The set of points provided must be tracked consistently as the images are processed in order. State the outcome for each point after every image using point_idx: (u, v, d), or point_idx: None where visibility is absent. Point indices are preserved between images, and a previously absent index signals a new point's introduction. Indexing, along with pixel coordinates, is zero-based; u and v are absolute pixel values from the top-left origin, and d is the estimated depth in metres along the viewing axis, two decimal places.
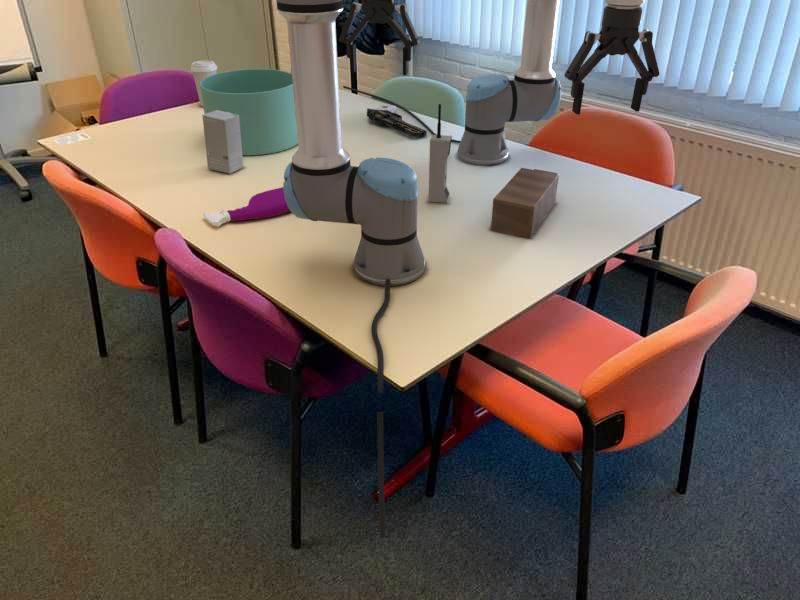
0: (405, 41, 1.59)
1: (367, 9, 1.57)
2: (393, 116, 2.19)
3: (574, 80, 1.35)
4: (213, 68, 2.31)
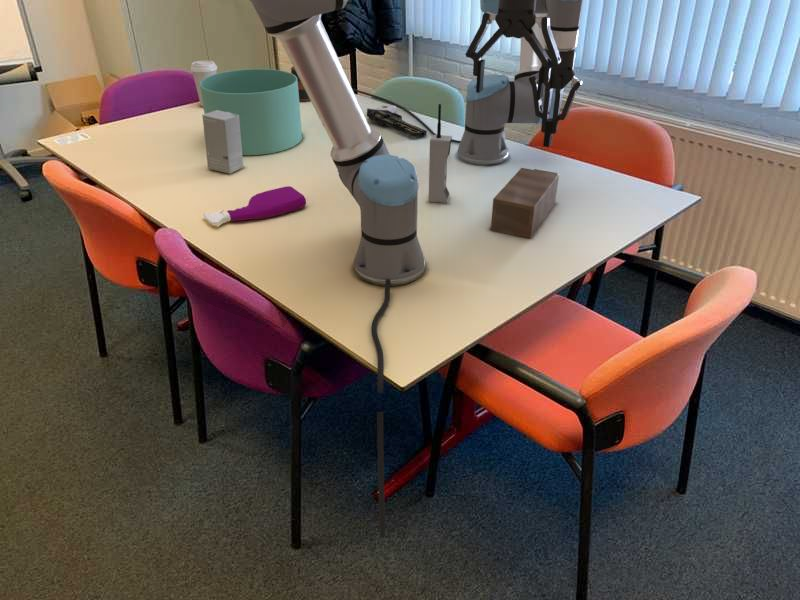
0: (543, 60, 1.34)
1: (502, 20, 1.33)
2: (393, 116, 2.19)
3: None
4: (213, 68, 2.31)
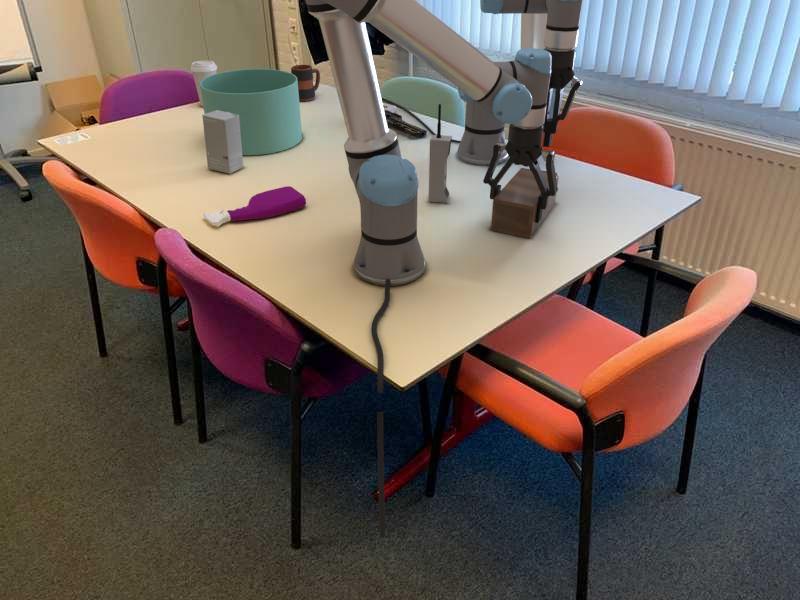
0: (542, 190, 1.46)
1: (511, 150, 1.45)
2: (393, 116, 2.19)
3: None
4: (213, 68, 2.31)
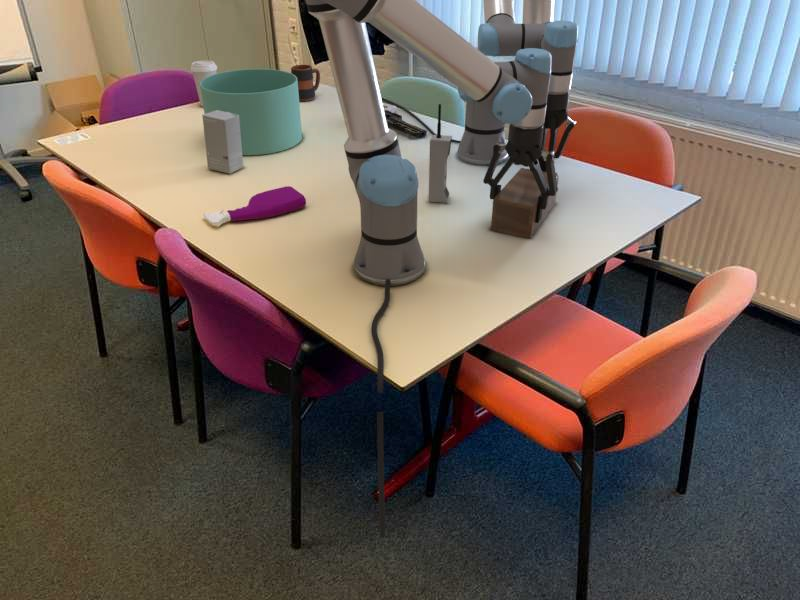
0: (542, 190, 1.46)
1: (511, 150, 1.45)
2: (393, 116, 2.19)
3: None
4: (213, 68, 2.31)
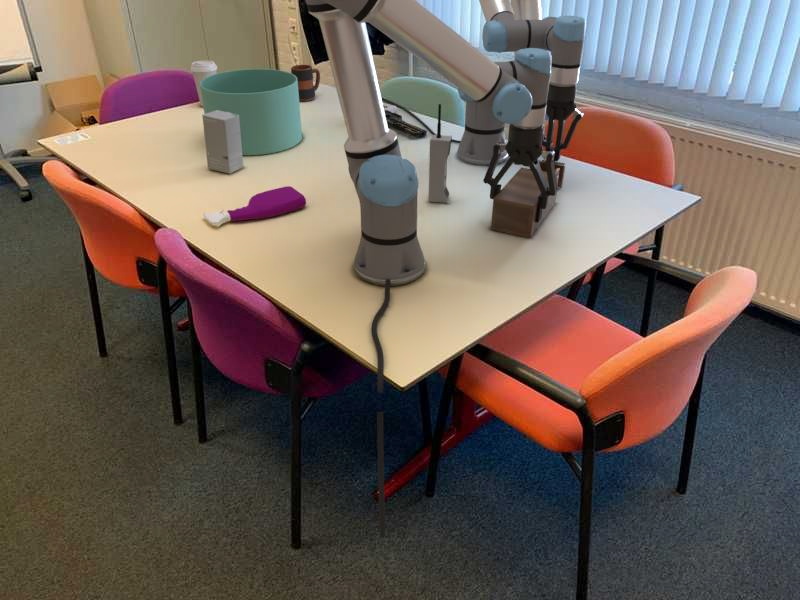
0: (542, 190, 1.46)
1: (511, 150, 1.45)
2: (393, 116, 2.19)
3: None
4: (213, 68, 2.31)
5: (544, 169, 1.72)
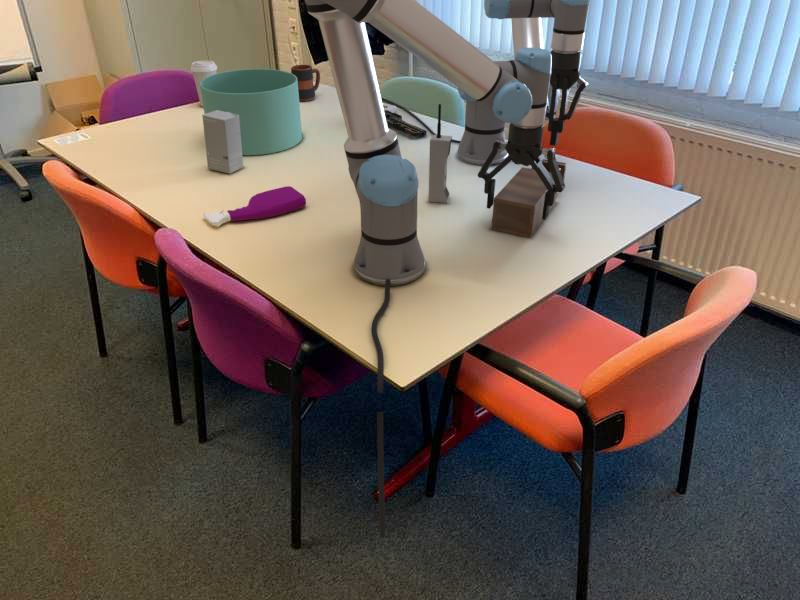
0: (549, 186, 1.45)
1: (511, 150, 1.45)
2: (393, 116, 2.19)
3: None
4: (213, 68, 2.31)
5: None
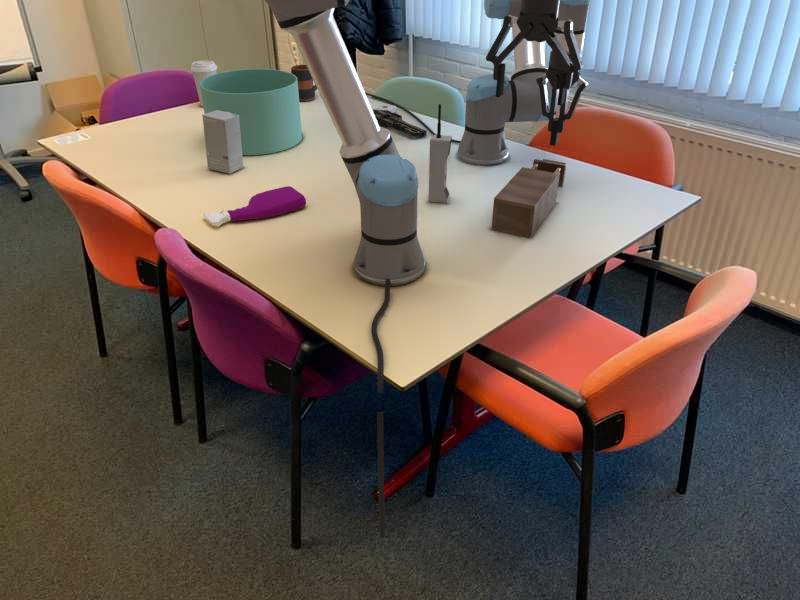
0: (565, 65, 1.30)
1: (524, 24, 1.30)
2: (393, 116, 2.19)
3: None
4: (213, 68, 2.31)
5: (545, 169, 1.73)
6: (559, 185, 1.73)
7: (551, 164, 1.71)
